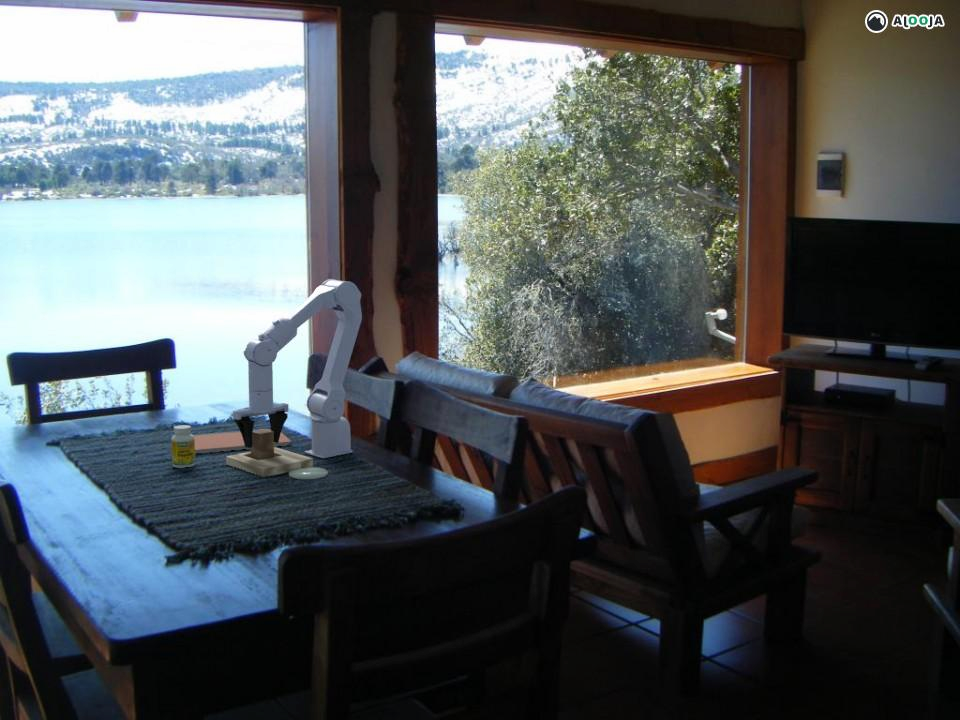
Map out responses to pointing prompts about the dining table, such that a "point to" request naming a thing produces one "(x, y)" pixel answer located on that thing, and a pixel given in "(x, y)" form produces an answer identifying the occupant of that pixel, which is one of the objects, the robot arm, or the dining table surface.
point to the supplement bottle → (183, 447)
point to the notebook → (227, 442)
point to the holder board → (270, 462)
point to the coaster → (308, 473)
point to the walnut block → (262, 444)
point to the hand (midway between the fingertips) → (261, 444)
